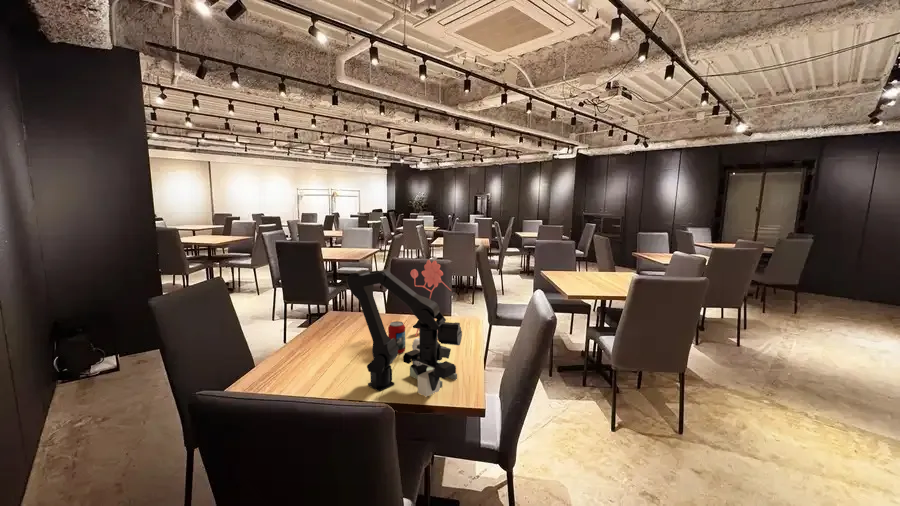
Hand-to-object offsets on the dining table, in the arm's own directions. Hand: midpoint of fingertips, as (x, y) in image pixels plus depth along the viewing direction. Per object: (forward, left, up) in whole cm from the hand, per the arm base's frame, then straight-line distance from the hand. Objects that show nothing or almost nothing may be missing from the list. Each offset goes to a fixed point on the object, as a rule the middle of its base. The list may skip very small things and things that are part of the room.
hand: (428, 388), depth 121 cm
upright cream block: (0, 0, -1) cm, 1 cm away
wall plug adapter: (+8, +6, -1) cm, 10 cm away
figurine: (+38, +36, -1) cm, 53 cm away
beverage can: (+14, +33, -1) cm, 36 cm away
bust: (+20, +23, -2) cm, 31 cm away
